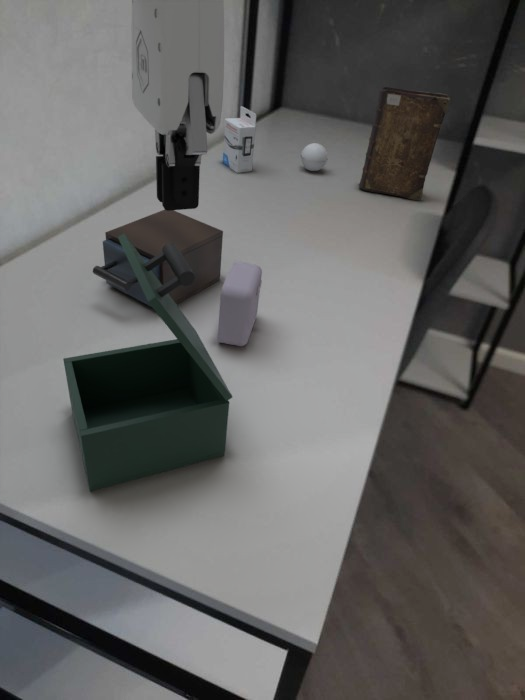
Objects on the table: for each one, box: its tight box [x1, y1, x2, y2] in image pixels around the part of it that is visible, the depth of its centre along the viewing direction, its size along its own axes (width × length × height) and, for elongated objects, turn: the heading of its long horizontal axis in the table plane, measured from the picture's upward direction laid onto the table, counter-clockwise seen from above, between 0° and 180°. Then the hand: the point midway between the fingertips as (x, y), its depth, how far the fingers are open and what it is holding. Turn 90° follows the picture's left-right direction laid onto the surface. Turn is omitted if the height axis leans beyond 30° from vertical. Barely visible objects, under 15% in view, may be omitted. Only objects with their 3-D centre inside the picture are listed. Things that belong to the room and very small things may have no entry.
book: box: [358, 86, 451, 201], centre depth 132 cm, size 17×7×25 cm, turn 75°
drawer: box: [92, 239, 160, 309], centre depth 86 cm, size 18×11×8 cm, turn 145°
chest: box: [63, 338, 230, 492], centre depth 61 cm, size 16×13×9 cm
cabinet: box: [104, 209, 224, 306], centre depth 89 cm, size 15×13×10 cm
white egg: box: [300, 142, 328, 172], centre depth 144 cm, size 10×7×7 cm
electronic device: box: [217, 260, 263, 347], centre depth 80 cm, size 10×5×10 cm, turn 170°
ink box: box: [222, 105, 257, 174], centre depth 138 cm, size 8×5×15 cm, turn 32°
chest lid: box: [118, 234, 233, 401], centre depth 55 cm, size 16×13×5 cm
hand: (177, 203), depth 47 cm, fingers closed
